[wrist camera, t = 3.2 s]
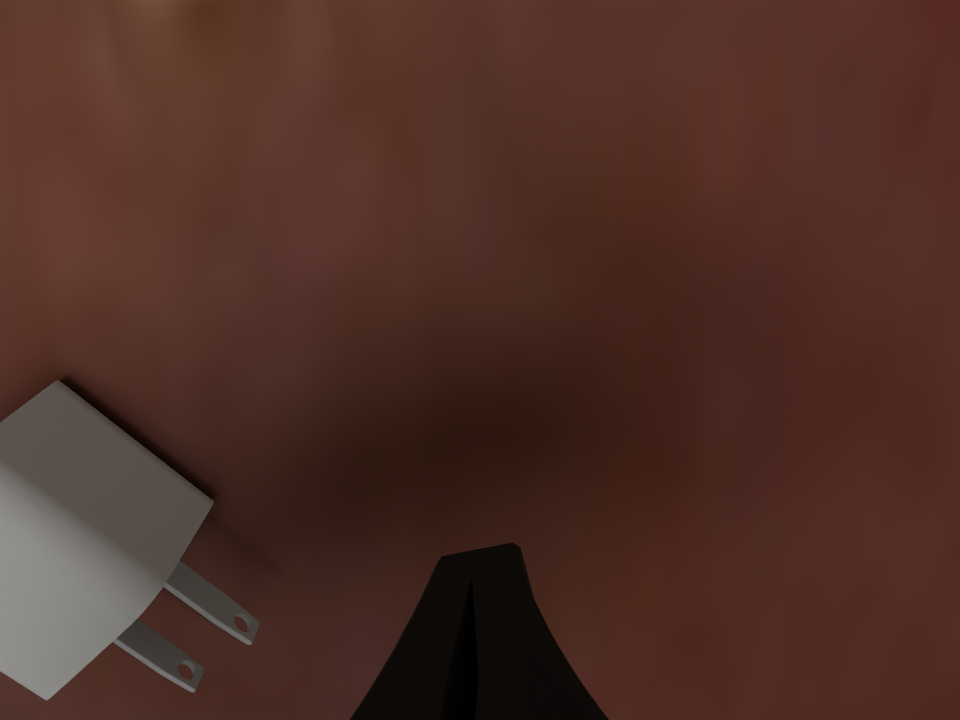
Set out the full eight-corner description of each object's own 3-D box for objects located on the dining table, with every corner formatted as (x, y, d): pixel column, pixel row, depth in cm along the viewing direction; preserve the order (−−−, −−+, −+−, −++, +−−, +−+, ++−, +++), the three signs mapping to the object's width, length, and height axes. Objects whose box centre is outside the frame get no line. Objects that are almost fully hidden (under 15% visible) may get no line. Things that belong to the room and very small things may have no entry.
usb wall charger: (69, 370, 16) (-51, 461, 13) (303, 555, 18) (257, 681, 15) (-27, 476, 17) (-166, 589, 14) (203, 641, 19) (137, 778, 16)
